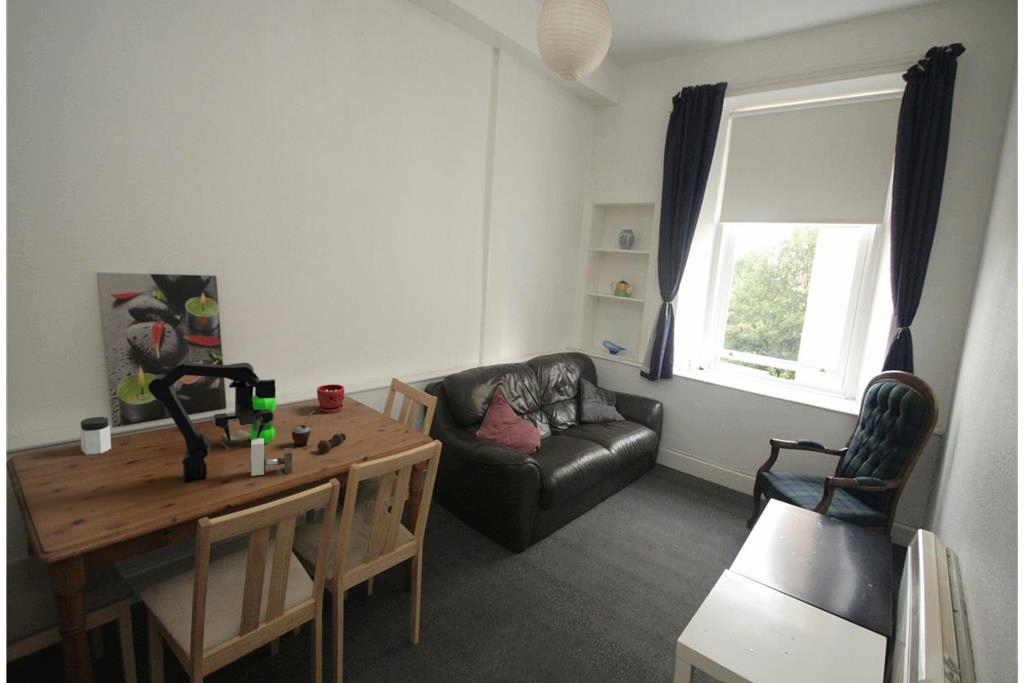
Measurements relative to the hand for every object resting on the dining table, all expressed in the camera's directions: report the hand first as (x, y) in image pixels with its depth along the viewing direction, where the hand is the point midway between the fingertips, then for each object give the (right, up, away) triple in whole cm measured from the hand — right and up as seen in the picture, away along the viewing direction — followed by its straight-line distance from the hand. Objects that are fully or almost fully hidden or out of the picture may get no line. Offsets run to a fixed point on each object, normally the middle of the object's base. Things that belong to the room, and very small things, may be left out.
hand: (243, 439), depth 186 cm
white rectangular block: (+4, -13, +3) cm, 14 cm away
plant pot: (+5, +1, +75) cm, 76 cm away
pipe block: (+12, -13, +7) cm, 19 cm away
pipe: (+7, -10, +4) cm, 13 cm away
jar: (-61, -6, +10) cm, 63 cm away
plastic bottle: (-8, -7, +30) cm, 32 cm away
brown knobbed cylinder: (+21, -9, +32) cm, 40 cm away
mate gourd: (+8, -8, +31) cm, 33 cm away
